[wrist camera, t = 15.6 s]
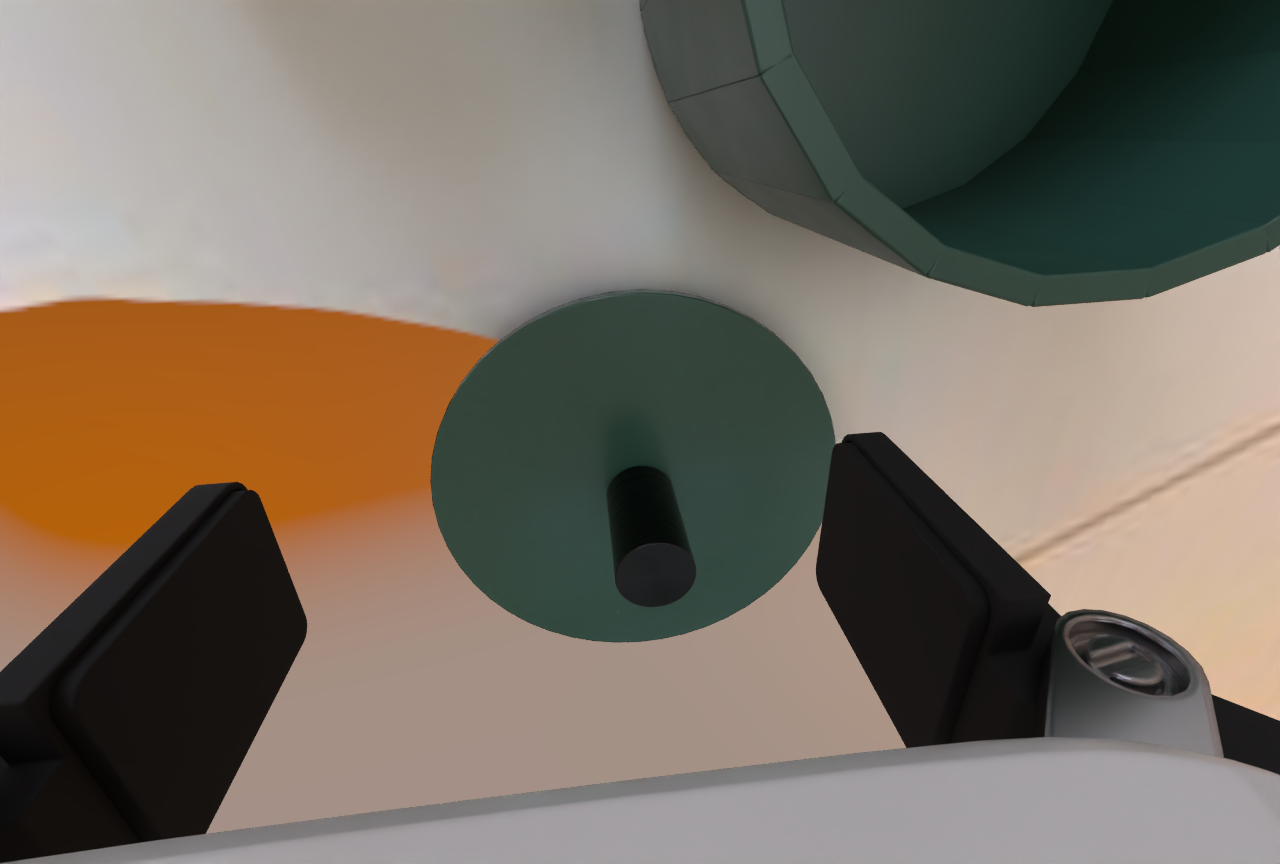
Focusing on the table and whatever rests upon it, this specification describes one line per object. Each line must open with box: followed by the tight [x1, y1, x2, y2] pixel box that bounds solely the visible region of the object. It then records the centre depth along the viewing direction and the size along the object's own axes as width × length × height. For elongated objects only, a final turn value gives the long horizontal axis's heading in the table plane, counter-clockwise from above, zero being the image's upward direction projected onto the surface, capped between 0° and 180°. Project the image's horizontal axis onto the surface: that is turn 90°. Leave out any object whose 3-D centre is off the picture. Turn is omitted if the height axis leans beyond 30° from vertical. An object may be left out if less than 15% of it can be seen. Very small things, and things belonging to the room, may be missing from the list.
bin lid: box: [431, 290, 835, 642], centre depth 25 cm, size 18×18×7 cm
